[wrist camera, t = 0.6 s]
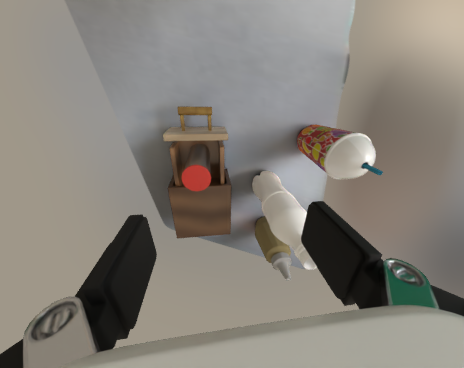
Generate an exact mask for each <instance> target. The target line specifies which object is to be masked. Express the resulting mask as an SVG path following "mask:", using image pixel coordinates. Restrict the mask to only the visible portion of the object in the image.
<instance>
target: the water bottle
mask: <svg viewBox="0 0 464 368" xmlns="http://www.w3.org/2000/svg"><path fill="white" fill-rule="evenodd" d="M252 188H253V192H254V193H255V195H256V196H257V197H258V198H259V199H260V200H261V202H262V211H263V213H264V215H265V217H266V219H267V221H268V223H269V225H270V229H271V231H272V233H273V234H274V235H275V236H276V237H277V238H278V239H279V240H280V241H282V242H283V243H285V244H287V245H289V246H290V247H291V248H293V250H294V254H295V255H296V257H298V259H299V260H300V261H301V263H302V265H303V266H304V267H305V269H309V270H311V269H315V268H317V266H316V265H315V263H314V262H313V260H312V258H311V257H310V255H309V254H308V252H307V251H306V249H305V248H304V246H303V244H302V242H301V235H302V231H303V227H304V223H305V219H306V215H307V212H306V211H305V210H304V209H303V208H302V207H301V205H300V204H299V203H298V202H297V200H296V199H295V198H294V196H293V195H292V194H290V193H289V192H288V191H287V190H285V188H284V187H283V186H282V184H281V181H280V178H279V177H278V176H277V175H276V174H274V173H273V172H270V171H262V172H261V174H260V175H259V176H258V175H256V176H255V177H254V179H253V182H252Z"/></svg>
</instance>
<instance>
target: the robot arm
mask: <svg viewBox="0 0 464 368" xmlns="http://www.w3.org/2000/svg"><path fill="white" fill-rule="evenodd" d="M301 242H302V244H303V246H304V248H305V249H306V251H307V252H308V254H309V255H310V257H311V258H312V260H313V262H314V263H315V265H316V266H317V268H318V269H319V271H320V272H321V274H322V275H323V277H324V278H325V280H326V282H327V283H328V285H329V286H330V288H331V290H332V291H333V293H334V294H335V296H336V297H337V298H339V299H340V300H341V301H342V303H343V304H344V305H345V306H346V305H353V304H355V303H356V304H357V306H358V307H359V310H351V311H344V312H338V313H330V314H324V315H317V316H310V317H303V318H297V319H290V320H285V321H277V322H271V323H264V324H258V325H252V326H245V327H238V328H232V329H225V330H220V331H213V332H206V333H200V334H194V335H188V336H181V337H175V338H169V339H163V340H158V341H152V342H146V343H141V344H135V345H130V346H124V347H119V348H115V349H113V347H114V346H115V343H116V341H117V340H120V339H126V338H127V337H128V334H129V331H130V329H133V328H134V326H135V324H136V321H137V318H138V315H139V311H140V308H141V305H142V302H143V299H144V295H145V292H146V289H147V286H148V283H149V280H150V276H151V273H152V270H153V267H154V264H155V261H156V255H157V254H156V249H155V246H154V242H153V238H152V235H151V232H150V228H149V224H148V221H147V218H146V217H143V215H130V216H129V217H128V219H127V220H126V222H125V223H124V225H123V226H122V228H121V229H120V231H119V232H118V234H117V235H116V237H115V239H114V240H113V242H112V243H110V244H109V246H108V247H107V248H106V250H105V251H104V253H103V255H102V256H101V258H100V259H99V261H98V262H97V264H96V265H95V267H94V268H93V270H92V271H91V273H90V274H89V276H88V277H87V279H86V280H85V282H84V283H83V285H82V286H81V288H80V289H79V291H78V292H77V294H76V295H75V297H66V298H63V299H60V300H58V301H56V302H54V303H52V304H51V305H50V306H48V307H46V308H45V309H43V310H42V311H41V312H40V313H39V314H38V315H37V316H36V317H35V318H34V319H33V320H32V321H31V322H30V324H29V325H28V327H27V329H26V330H25V333H24V337H23V339H22V340H21V341H19V342H18V343H16V344H15V345H13V346H12V347H10V348H9V349H7V350H6V351H4V352H3V353H1V354H0V368H464V299H463V298H460V297H458V296H456V295H454V294H451V293H449V292H446V291H444V290H442V289H439V288H437V287H435V286H432V285H430V283H429V281H428V279H427V278H426V276H425V275H424V274H423V273H422V272H421V271H420V270H418V269H417V268H415V267H414V266H412V265H411V264H409V263H407V262H404V261H402V260H398V259H392V258H390V259H386V260H385V261H383V260H382V259H381V256H382V254H381V253H380V252H379V251H377V250H376V249H375V248H374V247H373V246H372V245H371V244H370V243H369V242H368V241H366V240H365V239H364V238H363V237H362V236H361V235H360V234H359V233H358V232H356V231H355V230H354V229H353V228H352V227H351V226H350V225H349V224H348V223H346V221H344V220H343V219H342V218H341V217H340V216H339V215H338V214H337V213H336V212H334V211H333V210H332V209H331V208H330V207H329V206H328V205H327V204H326V203H325V202H323V201H318V202H312V203H311V204H310V205H309V207H308V211H307V215H306V219H305V223H304V227H303V231H302V235H301Z"/></svg>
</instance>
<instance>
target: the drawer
mask: <svg viewBox="0 0 464 368" xmlns="http://www.w3.org/2000/svg"><path fill="white" fill-rule="evenodd" d="M178 114H179V115H180V120H181V127H170V128H169V129H168V130H167V131H166V132H165V133H164V134H163V139H164V141H174V142H173V144H172V145H171V147H170V148H169V149H170V155H171V161H172V167H173V174H174V180H175V186H184V184H183V182H182V173H183V171H184V169H185V165H186V162H187V158H188V155H189V151H190V149H191V147H192V146H193V145H195V144H203V145H205V146H206V147H207V148H208V149H209V152H210V174H211V182H210V184H224V145H223V141H222V140H228V133H227V131H226V129H225V127H211V115H212V107H178ZM184 115H208V127H185V123H184Z"/></svg>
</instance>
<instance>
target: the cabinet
mask: <svg viewBox="0 0 464 368" xmlns="http://www.w3.org/2000/svg"><path fill="white" fill-rule="evenodd" d="M168 192H169V198H170V203H171V208H172V214H173V219H174V224H175V229H176V235H177V238H187V237H200V236H212V235H225V234H230V229H231V183H230V179H229V175H228V171H227V169H224V184H210V185H209V186H208V187H207V188H206V189H204V190H202V191H192V190H190V189H188V188H186V187H185V186H175V180H174V174H173V176H172V179H171V181H170V184H169V187H168Z"/></svg>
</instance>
